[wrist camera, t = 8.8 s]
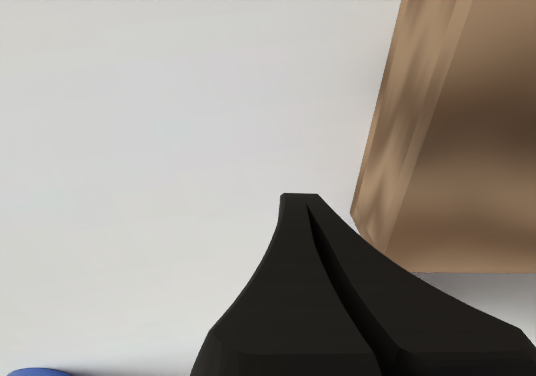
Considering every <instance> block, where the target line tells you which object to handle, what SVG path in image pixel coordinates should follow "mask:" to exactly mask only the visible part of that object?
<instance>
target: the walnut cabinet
mask: <svg viewBox="0 0 536 376" xmlns="http://www.w3.org/2000/svg"><path fill="white" fill-rule="evenodd" d="M350 214H351V216H352V218H353V221H354V223H355V225H356V227H357V229H358V231H359V233H360V235H361V237H362V238H363V239H364V240H366V241H367V242H368V243H369V244H370V245H372V246H373V247H374V248H375V249H377V250H378V251H379V252H381V253H382V254H383V255H385V256H386V257H388V258H389V259H390V260H392V261H393V262H395V263H396V264H397V265H399V266H400V267H402V268H404V269H405V270H407V271H408V272H440V273H536V0H402V1H401V5H400V9H399V13H398V17H397V21H396V25H395V29H394V33H393V37H392V42H391V46H390V50H389V54H388V58H387V62H386V66H385V70H384V74H383V79H382V83H381V87H380V91H379V95H378V99H377V103H376V107H375V111H374V115H373V120H372V124H371V128H370V132H369V136H368V140H367V144H366V148H365V152H364V156H363V161H362V165H361V169H360V173H359V177H358V181H357V185H356V189H355V193H354V198H353V202H352V206H351V210H350Z"/></svg>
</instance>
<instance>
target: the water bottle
mask: <svg viewBox="0 0 536 376" xmlns="http://www.w3.org/2000/svg"><path fill="white" fill-rule="evenodd" d="M7 376H72V375H70V374H67V373H64V372H61V371H57V370H52V369H45V368H27V369H20V370H17V371H13V372H12V373H10V374H8V375H7Z"/></svg>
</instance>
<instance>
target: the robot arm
mask: <svg viewBox="0 0 536 376" xmlns="http://www.w3.org/2000/svg"><path fill="white" fill-rule="evenodd" d="M190 376H536V347H535V346H534V345H533V343H532V342H531V341H530V340H529V339H528V337H527V336H526V335H525V334H524V333H523V331H522V330H521V329H520V328H517V327H515V326H513V325H511V324H509V323H506V322H504V321H502V320H500V319H497V318H495V317H493V316H491V315H489V314H486V313H484V312H482V311H480V310H478V309H475V308H473V307H471V306H469V305H467V304H465V303H463V302H461V301H459V300H457V299H455V298H454V297H452V296H450V295H448V294H446V293H444V292H442V291H440V290H439V289H437V288H435V287H433V286H431V285H430V284H428V283H426V282H424V281H423V280H421V279H420V278H418V277H416V276H415V275H413V274H411V273H410V272H408V271H407V270H405V269H404V268H402V267H400V266H399V265H397V264H396V263H395V262H393V261H392V260H390V259H389V258H388V257H386V256H385V255H383V254H382V253H381V252H379V251H378V250H377V249H375V248H374V247H373V246H372V245H370V244H369V243H368V242H367V241H366V240H364V239H363V238H362V237H361V236H360V235H359V234H357V233H356V232H355V231H354V230H353V229H352V228H351V227H350V226H349V225H348V224H347V223H345V222H344V221H343V220H342V219H341V218H340V217H339V216H338V215H337V214H336V213H335V212H334V211H333V210H332V209H331V208H330V206H329V205H328V204H327V203H326V202H325V201H324V200H323V199H322V198H321V197H320V196H319V195H318V194H303V193H283V194H282V195H281V196H280V206H279V217H278V223H277V226H276V229H275V232H274V234H273V237H272V240H271V242H270V244H269V247H268V249H267V251H266V253H265V255H264V257H263V259H262V261H261V262H260V264H259V266H258V267H257V269H256V271H255V273H254V274H253V276H252V277H251V279H250V280H249V282H248V283H247V285H246V286H245V288H244V289H243V290H242V292H241V293H240V294H239V296H238V297H237V298H236V300H235V301H234V303H233V304H232V305H231V306H230V308H229V309H228V310H227V311H226V312H225V313H224V314H223V316H222V317H221V318H220V319H219V320H218V321H217V322H216V324H215V325H214V326H213V327H212V328H211V329H210V330H209V332H208V334H207V336H206V339H205V341H204V343H203V345H202V347H201V349H200V351H199V354H198V356H197V358H196V361H195V363H194V366H193V368H192V371H191V374H190Z"/></svg>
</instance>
